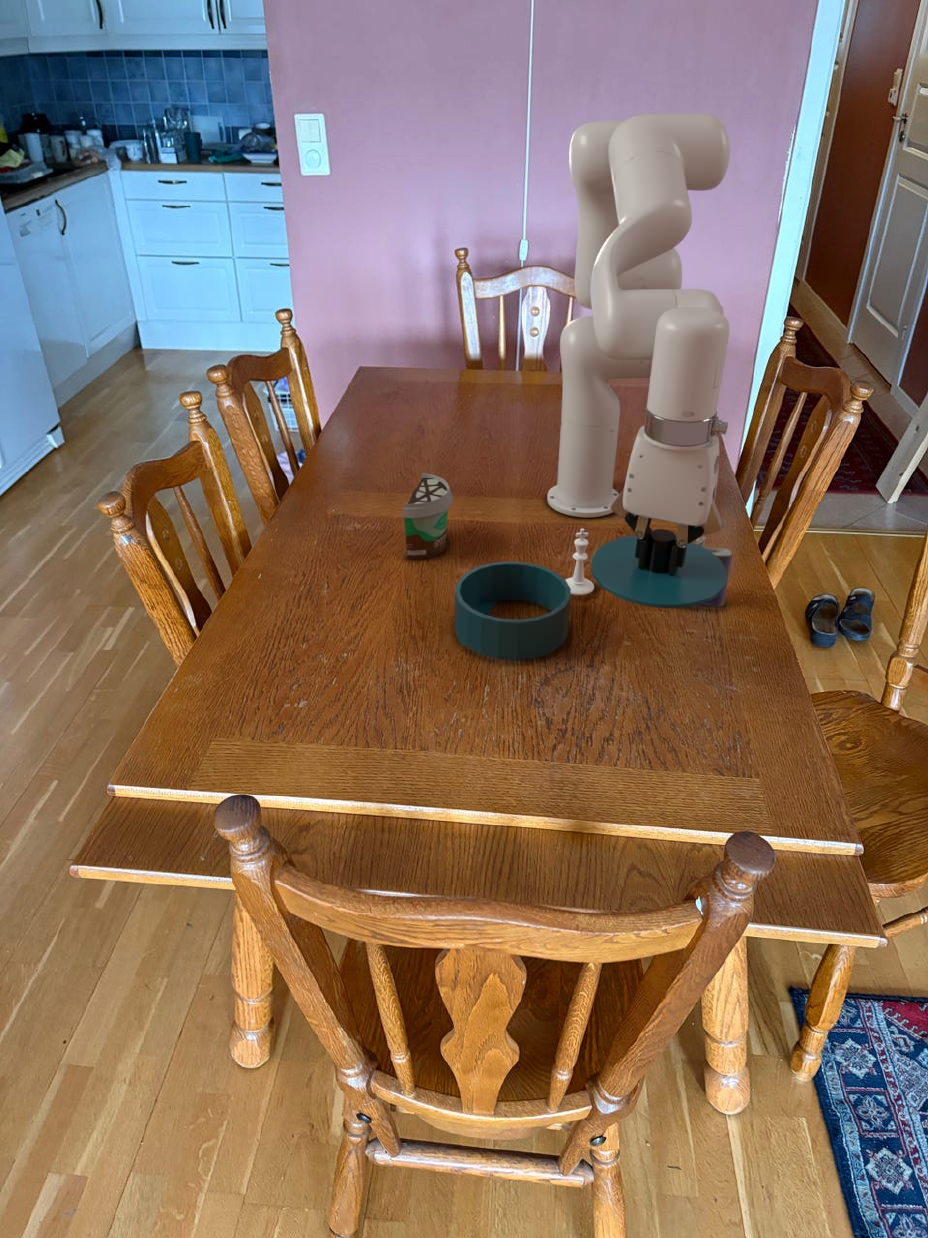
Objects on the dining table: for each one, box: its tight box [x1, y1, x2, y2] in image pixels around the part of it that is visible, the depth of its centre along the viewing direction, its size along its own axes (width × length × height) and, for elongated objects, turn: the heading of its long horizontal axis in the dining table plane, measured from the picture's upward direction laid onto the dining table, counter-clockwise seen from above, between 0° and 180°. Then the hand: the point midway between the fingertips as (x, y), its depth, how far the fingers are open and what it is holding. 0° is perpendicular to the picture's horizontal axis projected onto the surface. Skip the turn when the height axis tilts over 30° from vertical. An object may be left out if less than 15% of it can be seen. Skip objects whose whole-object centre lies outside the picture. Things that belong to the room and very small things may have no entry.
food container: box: [402, 472, 454, 561], centre depth 143 cm, size 12×6×10 cm, turn 168°
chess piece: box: [565, 528, 595, 596], centre depth 132 cm, size 5×5×10 cm
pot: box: [454, 560, 572, 661], centre depth 124 cm, size 15×15×6 cm
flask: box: [693, 535, 733, 608], centre depth 129 cm, size 9×3×11 cm, turn 74°
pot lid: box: [590, 528, 727, 609], centre depth 111 cm, size 16×16×6 cm
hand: (658, 565), depth 112 cm, fingers closed on pot lid, 3 cm apart
